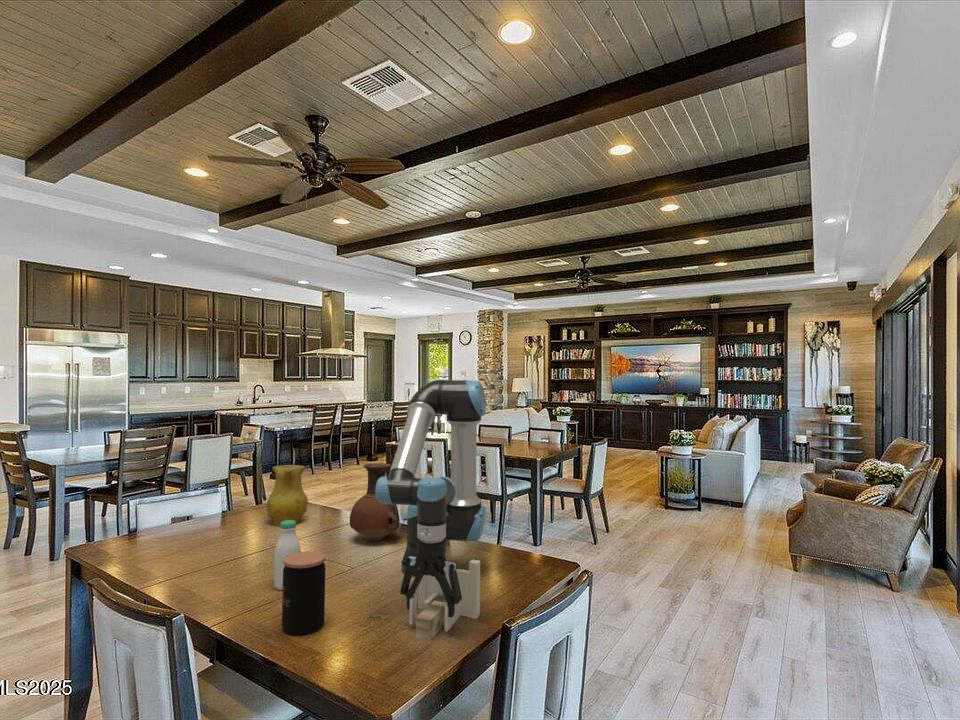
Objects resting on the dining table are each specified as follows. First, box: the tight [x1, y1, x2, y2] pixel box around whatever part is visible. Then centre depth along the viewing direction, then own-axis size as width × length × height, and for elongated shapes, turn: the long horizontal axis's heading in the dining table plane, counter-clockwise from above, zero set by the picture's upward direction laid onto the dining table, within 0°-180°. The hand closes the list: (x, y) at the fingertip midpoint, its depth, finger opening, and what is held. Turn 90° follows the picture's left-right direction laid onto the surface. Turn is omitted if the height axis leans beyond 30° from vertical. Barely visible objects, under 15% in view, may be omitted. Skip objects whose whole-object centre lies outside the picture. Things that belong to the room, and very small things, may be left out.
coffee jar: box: [281, 550, 326, 636], centre depth 141 cm, size 11×11×18 cm
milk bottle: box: [273, 520, 302, 591], centre depth 168 cm, size 8×8×20 cm
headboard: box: [417, 559, 481, 627], centre depth 148 cm, size 18×9×15 cm, turn 70°
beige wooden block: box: [415, 596, 447, 641], centre depth 142 cm, size 14×4×5 cm, turn 160°
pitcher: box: [266, 464, 309, 527], centre depth 238 cm, size 17×19×25 cm
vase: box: [349, 462, 400, 542], centre depth 214 cm, size 25×20×30 cm
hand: (430, 625), depth 139 cm, fingers open, 9 cm apart
